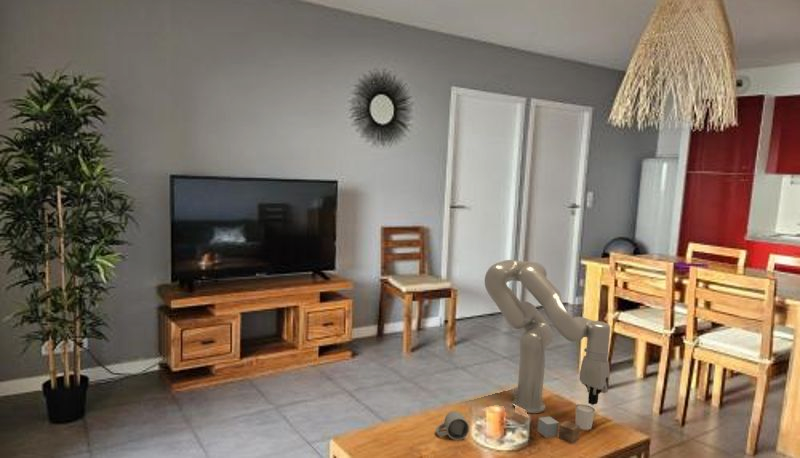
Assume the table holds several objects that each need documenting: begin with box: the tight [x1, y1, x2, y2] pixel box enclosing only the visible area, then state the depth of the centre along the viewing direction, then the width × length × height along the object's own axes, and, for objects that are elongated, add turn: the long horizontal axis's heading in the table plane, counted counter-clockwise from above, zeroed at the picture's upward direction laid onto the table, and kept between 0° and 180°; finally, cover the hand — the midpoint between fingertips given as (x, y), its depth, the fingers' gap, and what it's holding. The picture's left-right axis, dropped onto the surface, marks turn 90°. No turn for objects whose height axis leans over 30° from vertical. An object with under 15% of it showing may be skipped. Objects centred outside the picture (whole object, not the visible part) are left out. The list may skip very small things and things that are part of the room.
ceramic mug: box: [435, 410, 470, 441], centre depth 187 cm, size 11×8×8 cm
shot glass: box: [574, 404, 596, 431], centre depth 199 cm, size 7×7×7 cm
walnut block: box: [558, 420, 581, 445], centre depth 189 cm, size 5×5×5 cm
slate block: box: [536, 415, 560, 439], centre depth 192 cm, size 5×5×5 cm
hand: (592, 403), depth 200 cm, fingers closed
